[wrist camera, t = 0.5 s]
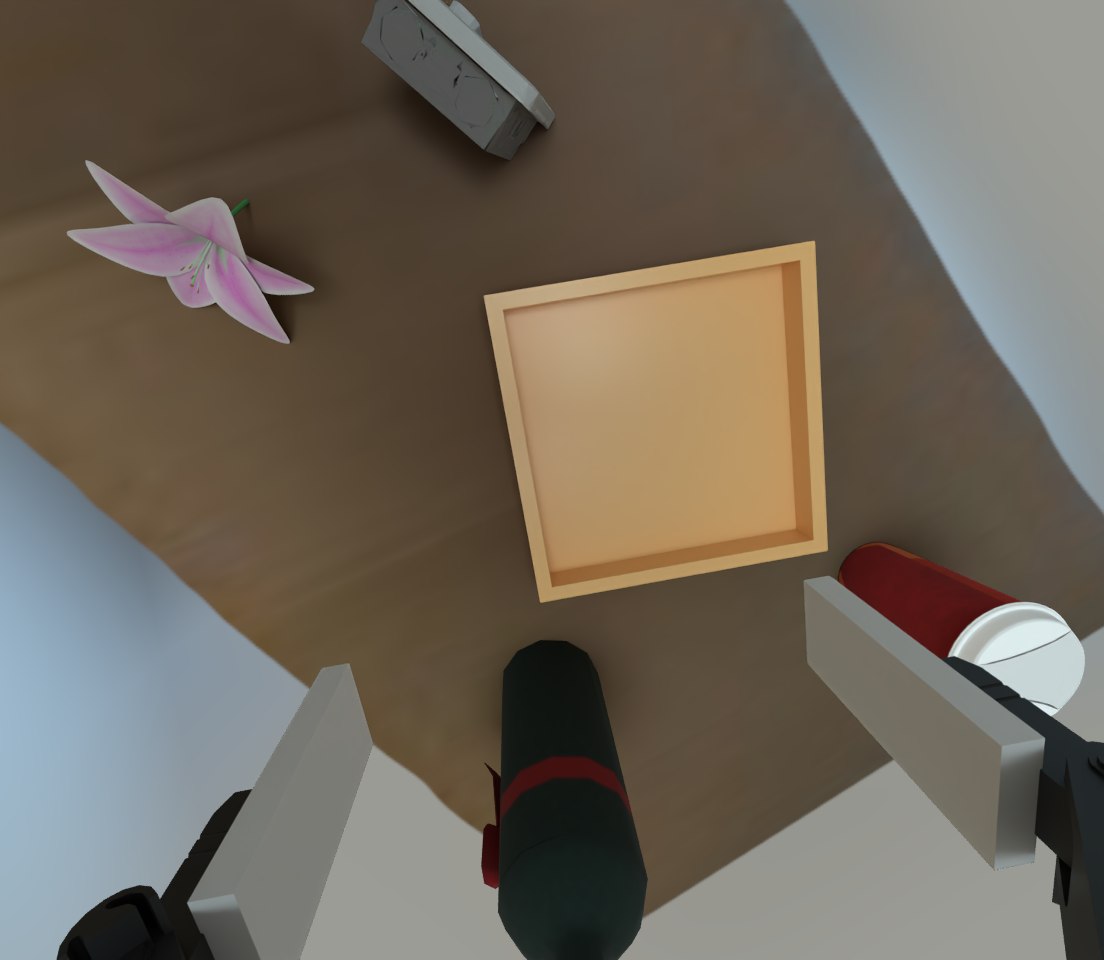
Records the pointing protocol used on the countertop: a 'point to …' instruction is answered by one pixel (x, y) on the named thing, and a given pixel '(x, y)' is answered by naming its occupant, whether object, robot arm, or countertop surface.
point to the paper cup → (970, 622)
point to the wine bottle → (562, 814)
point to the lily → (191, 254)
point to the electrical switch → (457, 71)
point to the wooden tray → (665, 418)
